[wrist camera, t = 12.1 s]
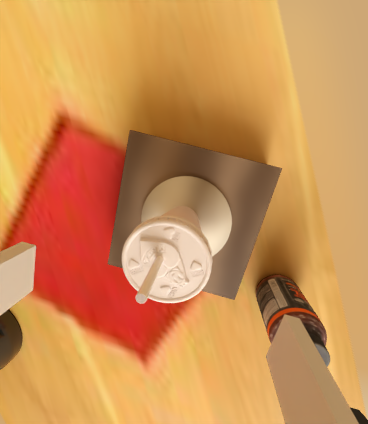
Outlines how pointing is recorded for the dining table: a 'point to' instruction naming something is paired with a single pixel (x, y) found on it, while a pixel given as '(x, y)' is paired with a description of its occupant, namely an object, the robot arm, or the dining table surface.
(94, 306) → the dining table surface
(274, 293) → the supplement bottle
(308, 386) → the robot arm
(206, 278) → the white drink cup
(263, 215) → the stand
